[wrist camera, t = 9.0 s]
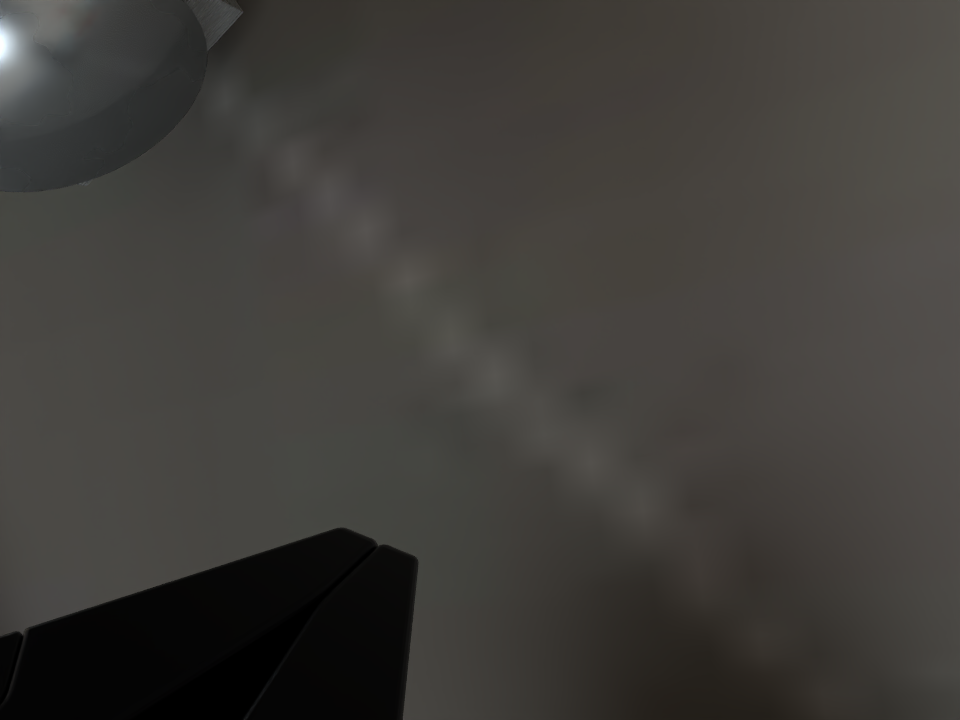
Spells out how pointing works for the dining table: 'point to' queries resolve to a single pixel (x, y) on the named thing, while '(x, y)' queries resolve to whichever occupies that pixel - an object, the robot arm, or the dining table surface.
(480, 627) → the dining table surface
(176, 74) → the cube on metal disc
